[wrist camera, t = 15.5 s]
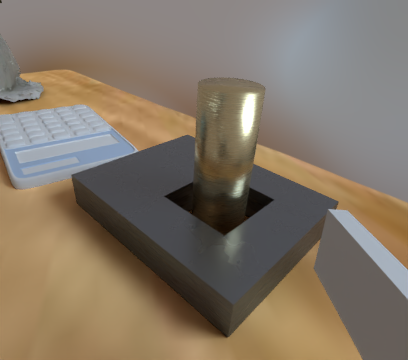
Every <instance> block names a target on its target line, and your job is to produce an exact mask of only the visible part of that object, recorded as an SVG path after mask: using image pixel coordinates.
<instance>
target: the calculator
mask: <svg viewBox="0 0 408 360" xmlns="http://www.w3.org/2000/svg"><path fill="white" fill-rule="evenodd" d="M0 151H1V154H2V157H3V160H4V163H5V166H6V169H7V172H8V175H9V178H10V180H11V183H12V185H13V186H14V187H15V188H16V189H29V188H34V187H38V186H42V185H46V184H50V183H54V182H58V181H62V180H66V179H70V178H72V176H71V175H72V174H75V173H78V172H81V171H84V170H87V169H89V168H92V167H95V166H98V165H101V164H104V163H107V162H110V161H113V160H116V159H118V158H121V157H124V156H127V155H130V154H133V153H136V152H138V150H137V149H136V148H135V147H134V146H133V145H132V144H131V143H130V142H129V141H128V140H126V139H125V138H124V137H123V136H122V135H121V134H120V133H118V132H117V131H116V130H115V129H114V128H113V127H112V126H110V125H109V124H108V123H107V122H106V121H105V120H104V119H102V118H101V117H100V116H99V115H98V114H97V113H96V112H94V111H93V110H92V109H91V108H90V107H88V106H86V105H74V106H69V107H58V108H54V109H43V110H38V111H32V112H20V113H17V114H6V115H0Z"/></svg>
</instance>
